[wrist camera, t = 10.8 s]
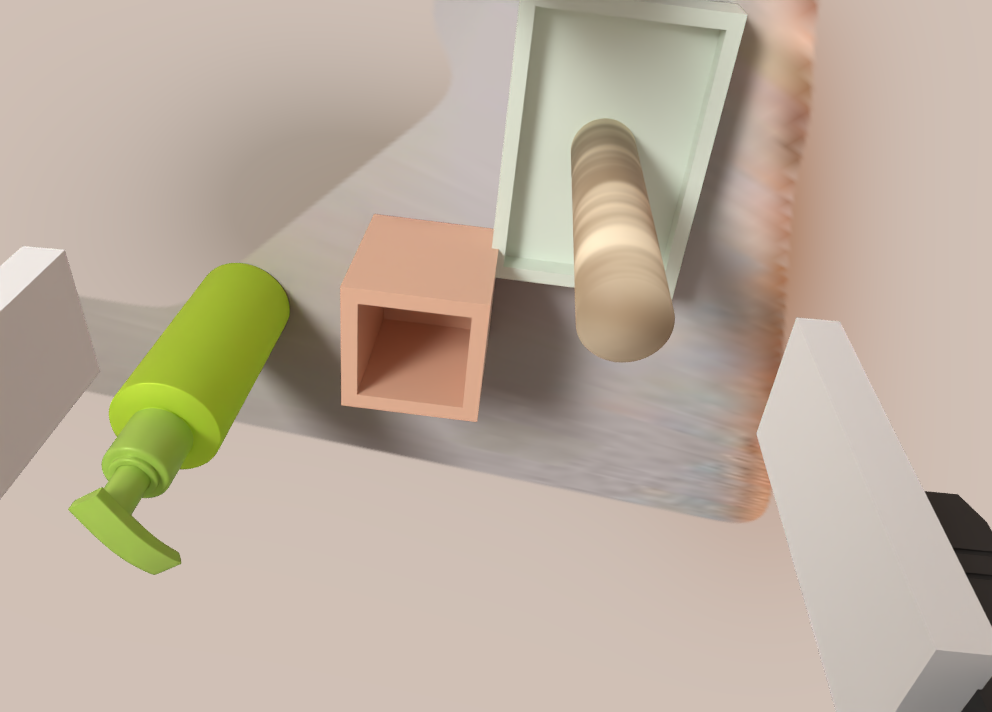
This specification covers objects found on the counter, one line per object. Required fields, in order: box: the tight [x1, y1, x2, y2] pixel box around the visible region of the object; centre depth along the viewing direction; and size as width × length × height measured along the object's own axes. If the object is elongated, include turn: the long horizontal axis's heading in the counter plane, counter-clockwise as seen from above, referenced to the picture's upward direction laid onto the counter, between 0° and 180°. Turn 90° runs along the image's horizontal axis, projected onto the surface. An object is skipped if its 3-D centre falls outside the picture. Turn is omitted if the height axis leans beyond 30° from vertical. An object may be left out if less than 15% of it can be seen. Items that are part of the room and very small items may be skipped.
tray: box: [492, 0, 747, 300], centre depth 44 cm, size 16×11×3 cm
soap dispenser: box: [68, 263, 290, 575], centre depth 45 cm, size 6×7×20 cm
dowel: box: [571, 118, 675, 362], centre depth 37 cm, size 4×4×18 cm
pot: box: [340, 214, 499, 422], centre depth 47 cm, size 8×8×9 cm
